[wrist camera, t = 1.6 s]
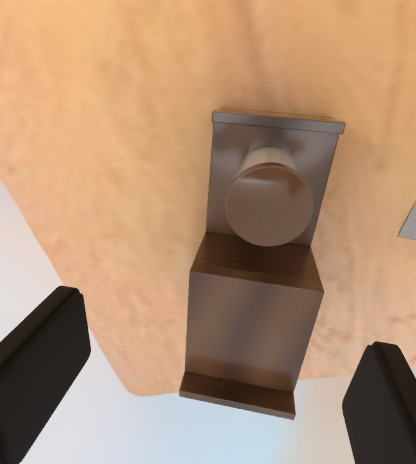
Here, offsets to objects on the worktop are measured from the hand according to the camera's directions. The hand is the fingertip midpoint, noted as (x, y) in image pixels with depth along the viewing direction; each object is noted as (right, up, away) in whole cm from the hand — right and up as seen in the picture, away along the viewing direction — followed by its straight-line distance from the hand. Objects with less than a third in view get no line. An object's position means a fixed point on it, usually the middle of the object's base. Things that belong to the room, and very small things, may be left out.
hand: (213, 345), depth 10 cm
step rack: (+5, +5, +22) cm, 23 cm away
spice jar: (+5, +8, +16) cm, 18 cm away
